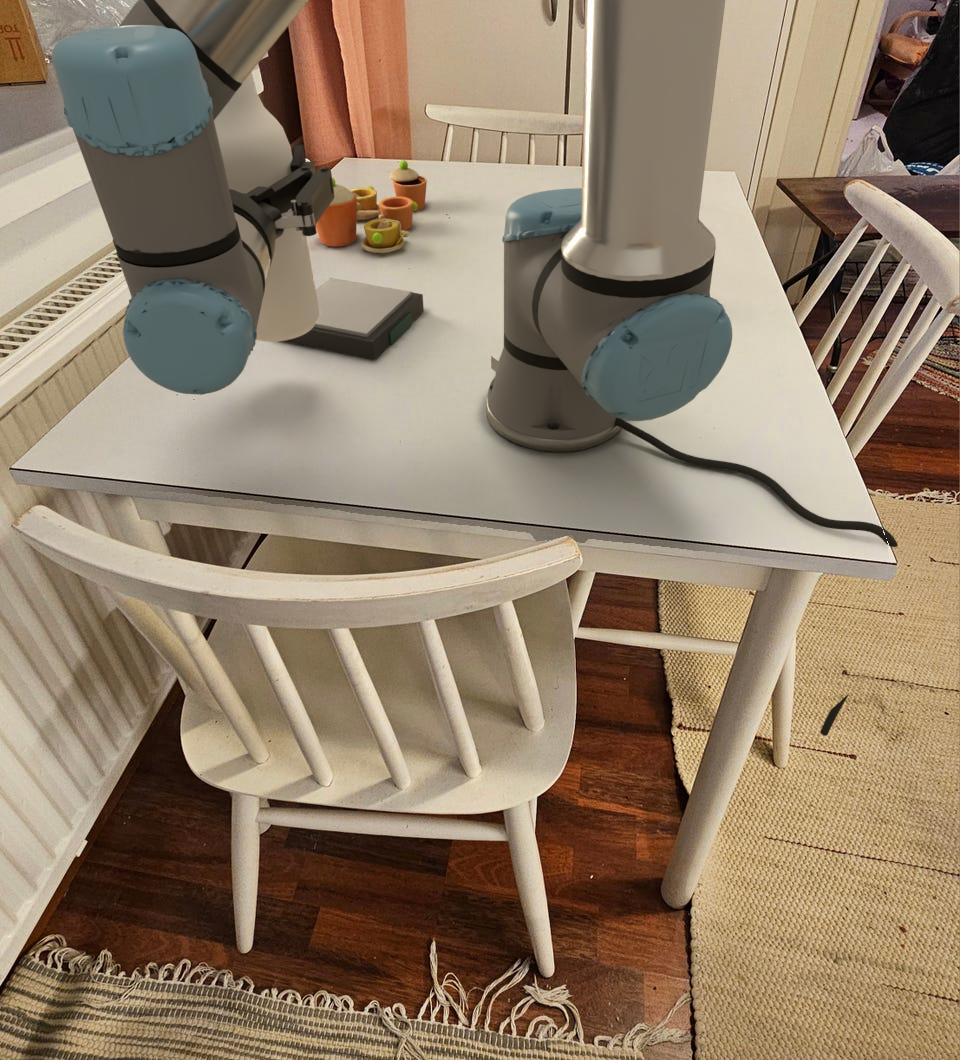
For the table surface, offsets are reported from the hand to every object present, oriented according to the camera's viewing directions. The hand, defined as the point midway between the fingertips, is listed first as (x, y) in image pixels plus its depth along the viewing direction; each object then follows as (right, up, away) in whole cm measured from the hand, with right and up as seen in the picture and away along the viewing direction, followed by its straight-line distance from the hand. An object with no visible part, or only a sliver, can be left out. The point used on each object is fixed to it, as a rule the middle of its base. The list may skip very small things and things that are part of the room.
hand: (253, 162), depth 74 cm
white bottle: (+1, -14, +7) cm, 16 cm away
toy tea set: (+5, +14, +51) cm, 53 cm away
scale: (+6, -9, +25) cm, 27 cm away
